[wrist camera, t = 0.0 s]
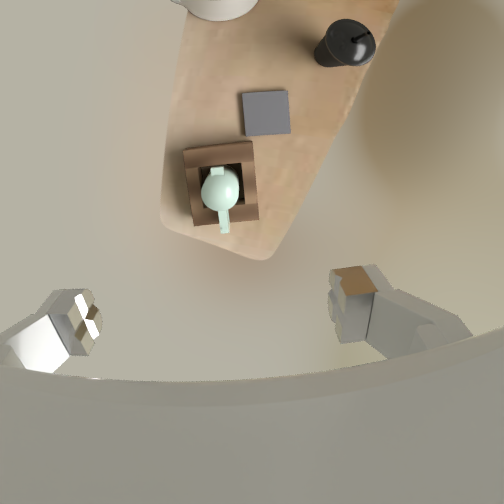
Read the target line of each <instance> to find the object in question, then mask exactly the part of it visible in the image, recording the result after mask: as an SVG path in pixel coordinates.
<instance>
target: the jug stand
mask: <svg viewBox="0 0 504 504" xmlns="http://www.w3.org/2000/svg"><path fill="white" fill-rule="evenodd" d="M183 157H184V165H185V172H186V178H187V185H188V192H189V198H190V205H191V211H192V217H193V223H194V226H200V225H210V224H220V223H219V215H218V211H215V210H212V209H210V208H209V207H207V206H206V205H205V203H204V202H203V200H202V197H201V190H202V186H203V179H202V171H201V167H205V166H213V165H222V164H232V163H241V164H242V174H243V185H244V195H245V198H238V200H237V202H236V203H235V205H234V206H233V207H231V208H230V209H228V212H229V220H230V222H241V221H252V220H259V213H258V200H257V188H256V176H255V165H254V153H253V143H252V141H245V142H235V143H225V144H216V145H208V146H200V147H192V148H186V149H185V150H184V151H183Z"/></svg>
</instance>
